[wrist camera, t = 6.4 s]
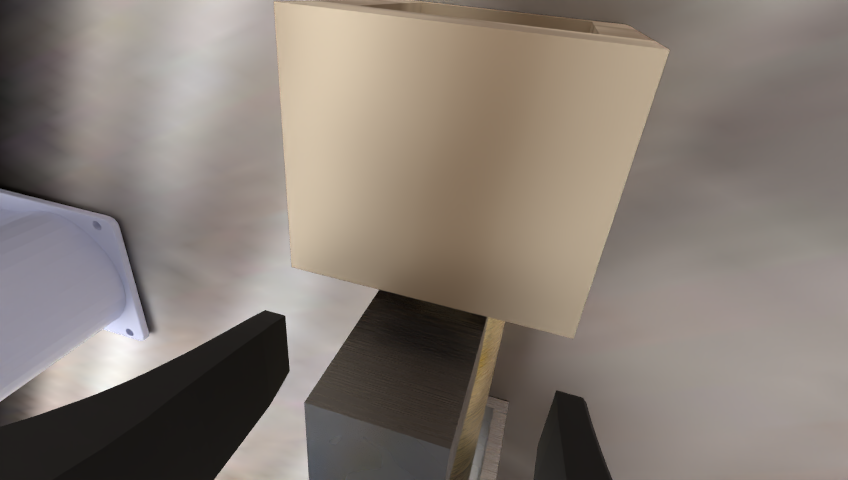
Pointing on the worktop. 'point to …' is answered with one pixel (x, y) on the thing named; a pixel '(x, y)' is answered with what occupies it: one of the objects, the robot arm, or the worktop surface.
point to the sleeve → (490, 440)
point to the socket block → (459, 149)
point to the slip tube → (403, 394)
